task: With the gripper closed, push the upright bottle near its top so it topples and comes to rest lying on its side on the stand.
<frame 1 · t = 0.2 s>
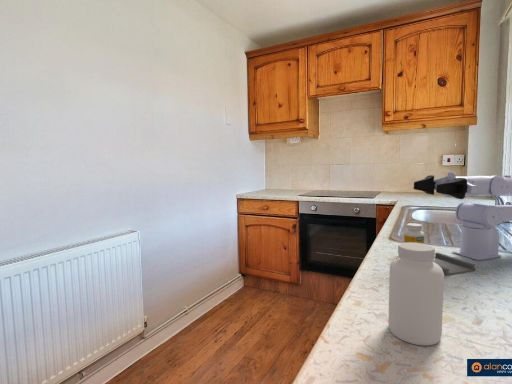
hand: (425, 187, 82), 21 cm above the countertop, tool horizontal, fingers open, 7 cm apart
supplement bottle: (413, 256, 90), on the countertop
stand: (441, 265, 81), on the countertop
pill bottle: (413, 334, 51), on the countertop
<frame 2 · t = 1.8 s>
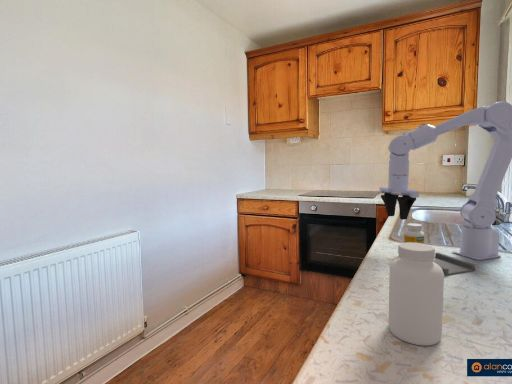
hand: (397, 217, 96), 10 cm above the countertop, tool pointing down, fingers open, 5 cm apart
nothing on the countertop moved.
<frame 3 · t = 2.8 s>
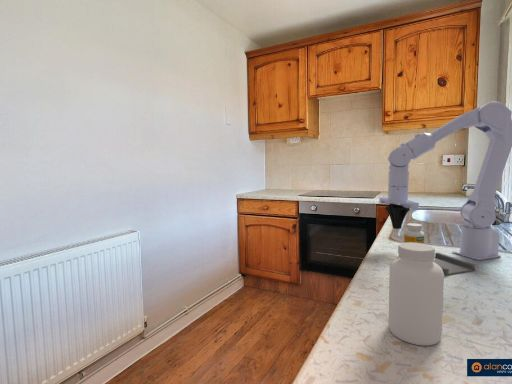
hand: (396, 228, 96), 7 cm above the countertop, tool pointing down, fingers closed
nothing on the countertop moved.
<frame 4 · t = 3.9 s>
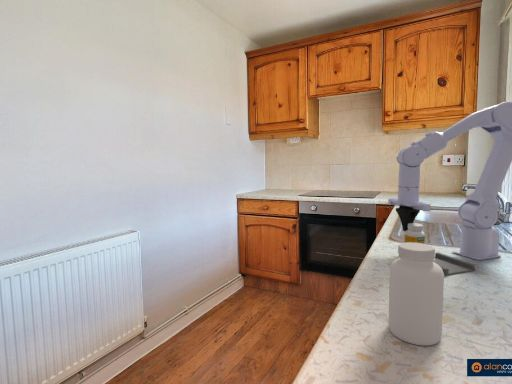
hand: (406, 230, 92), 7 cm above the countertop, tool pointing down, fingers closed, pressing on supplement bottle
supplement bottle: (413, 256, 90), on the countertop, touching gripper
everything else where it was.
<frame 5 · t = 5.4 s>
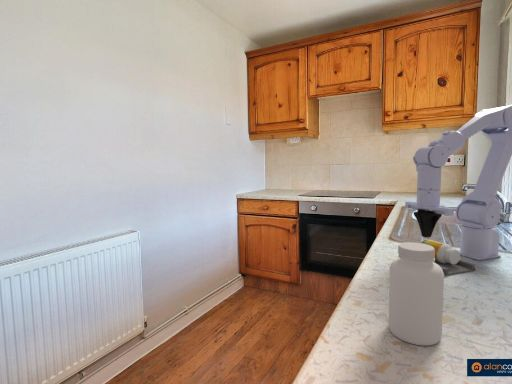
hand: (426, 236, 86), 7 cm above the countertop, tool pointing down, fingers closed
supplement bottle: (423, 247, 88), point 3 cm above the countertop, touching stand
everything else where it was.
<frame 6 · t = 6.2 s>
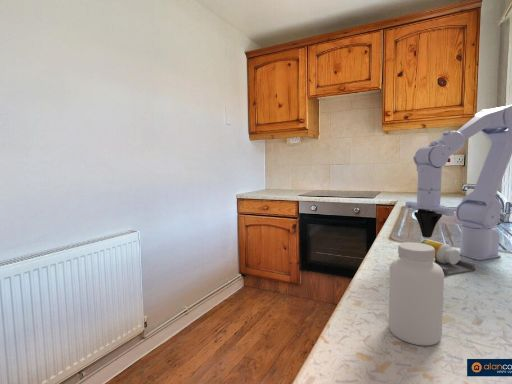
hand: (426, 236, 85), 7 cm above the countertop, tool pointing down, fingers closed
nothing on the countertop moved.
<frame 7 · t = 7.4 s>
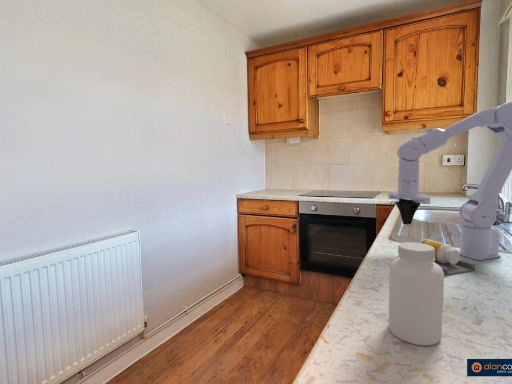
hand: (407, 223, 94), 9 cm above the countertop, tool pointing down, fingers closed
nothing on the countertop moved.
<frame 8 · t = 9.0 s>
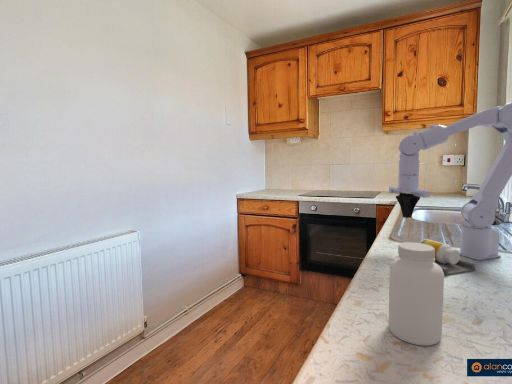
hand: (407, 217, 96), 10 cm above the countertop, tool pointing down, fingers closed
nothing on the countertop moved.
at the end: supplement bottle tilted 90°; supplement bottle inside the target area (5.8 cm from its centre), point 3.1 cm above the countertop; the gripper is holding nothing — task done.
